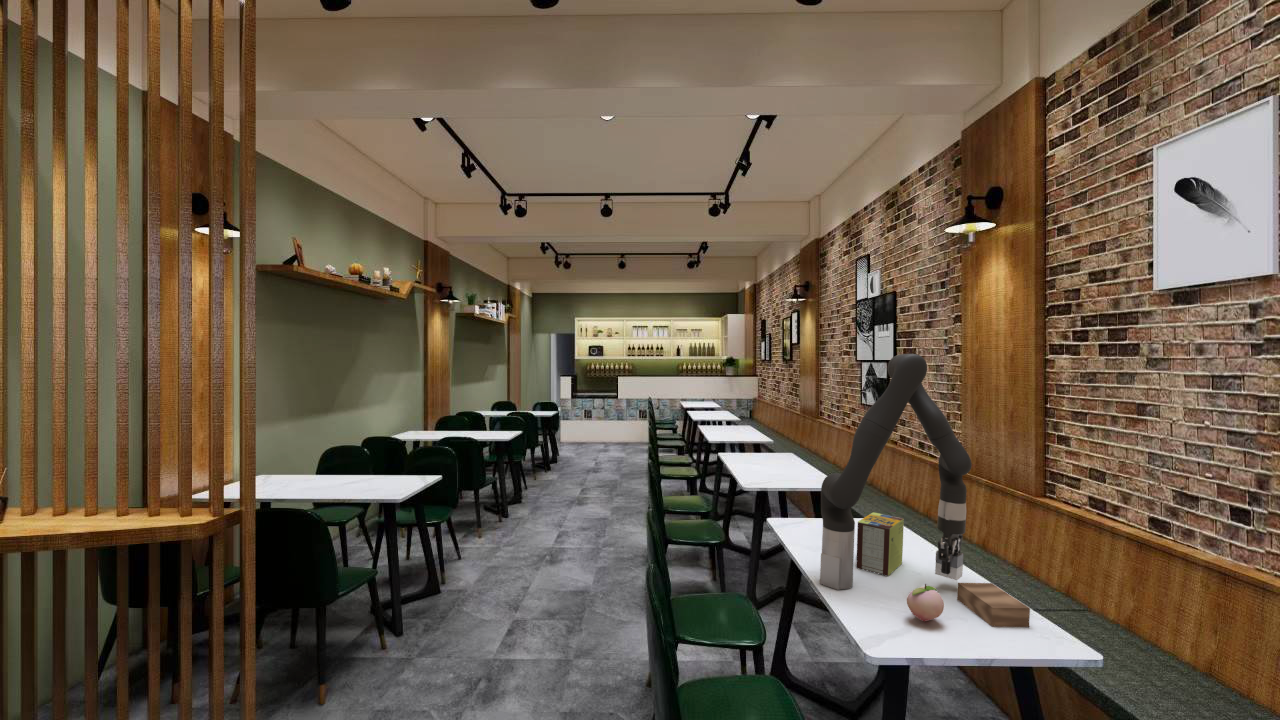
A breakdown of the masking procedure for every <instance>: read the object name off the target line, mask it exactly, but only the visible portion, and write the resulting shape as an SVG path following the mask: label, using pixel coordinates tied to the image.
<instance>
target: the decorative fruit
mask: <svg viewBox="0 0 1280 720" xmlns="http://www.w3.org/2000/svg"><path fill="white" fill-rule="evenodd" d="M906 604H907V607H908V609H909V610H910V612H911V613H912V615H913V616H915V617H916V618H917V619H918V620H921V621H922V622H927V621H932V620H935V619H937V618H939V617H940V616H942V614H943V612H944V610H945V609H944V607H945V603H944V599H943V597H942V595H941V594H940V593H939V592H938V589H937V588H936V587H934V586H932V585H927V583H925V584H924V586H920V587H919V586H918V587H917V588H915V589H912V590H911V591H910V592H909V593H908V595H907V597H906Z"/></svg>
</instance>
